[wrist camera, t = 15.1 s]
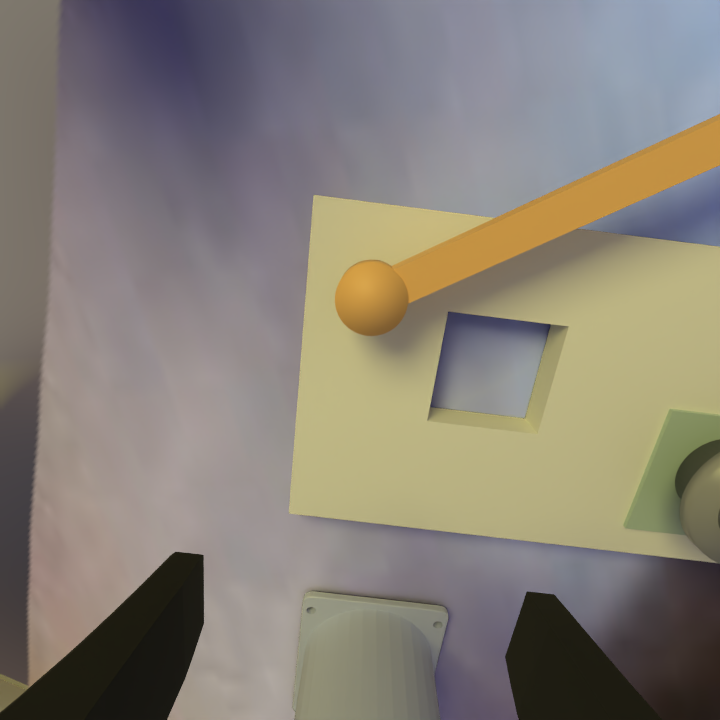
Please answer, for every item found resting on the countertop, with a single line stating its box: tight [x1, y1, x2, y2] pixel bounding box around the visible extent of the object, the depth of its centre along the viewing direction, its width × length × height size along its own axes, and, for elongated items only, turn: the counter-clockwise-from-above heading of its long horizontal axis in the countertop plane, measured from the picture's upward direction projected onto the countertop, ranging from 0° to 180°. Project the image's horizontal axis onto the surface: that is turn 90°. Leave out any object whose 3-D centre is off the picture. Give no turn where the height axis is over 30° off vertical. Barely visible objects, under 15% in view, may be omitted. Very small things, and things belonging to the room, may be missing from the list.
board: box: [289, 195, 720, 563], centre depth 17 cm, size 14×22×2 cm, turn 83°
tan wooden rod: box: [335, 114, 720, 336], centre depth 13 cm, size 2×16×1 cm, turn 115°
